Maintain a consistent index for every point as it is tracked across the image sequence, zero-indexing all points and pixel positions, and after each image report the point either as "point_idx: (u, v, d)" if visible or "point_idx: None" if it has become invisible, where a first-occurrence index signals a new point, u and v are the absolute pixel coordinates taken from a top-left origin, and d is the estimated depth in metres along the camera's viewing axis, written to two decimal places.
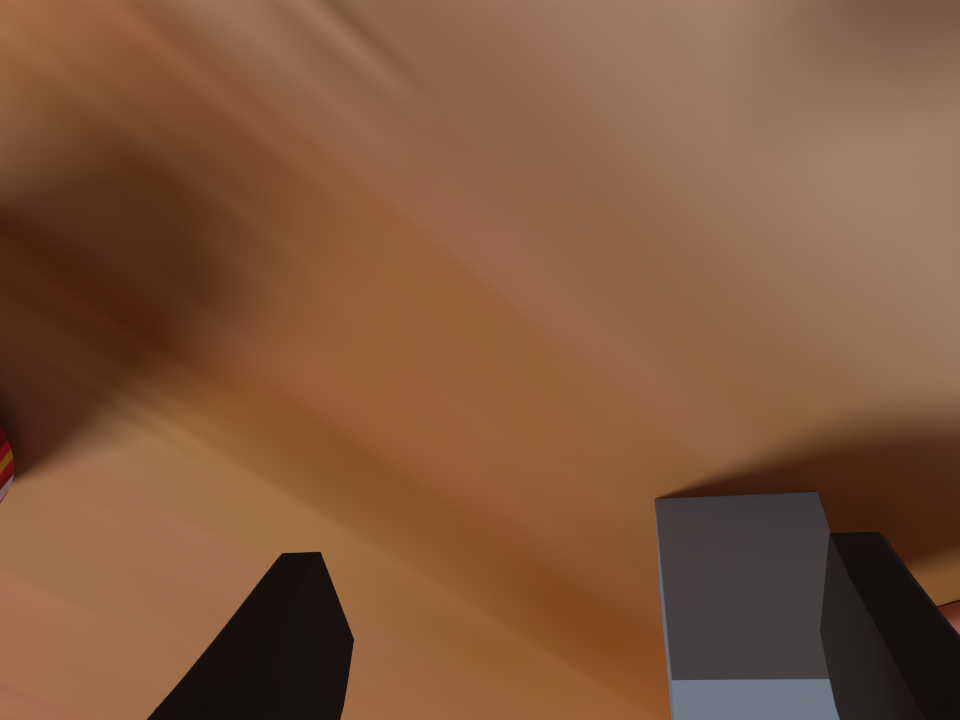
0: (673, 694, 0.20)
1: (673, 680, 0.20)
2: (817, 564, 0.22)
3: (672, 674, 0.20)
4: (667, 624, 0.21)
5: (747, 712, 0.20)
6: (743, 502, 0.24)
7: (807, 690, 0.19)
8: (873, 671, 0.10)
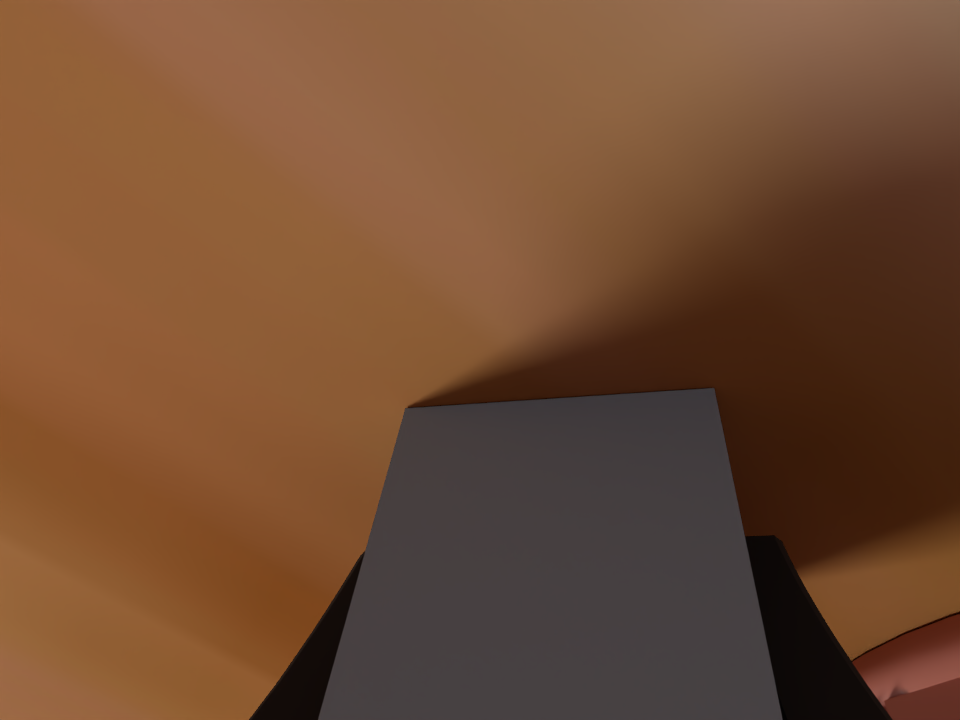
0: None
1: None
2: (692, 527, 0.10)
3: None
4: (337, 662, 0.09)
5: None
6: (567, 411, 0.12)
7: None
8: None
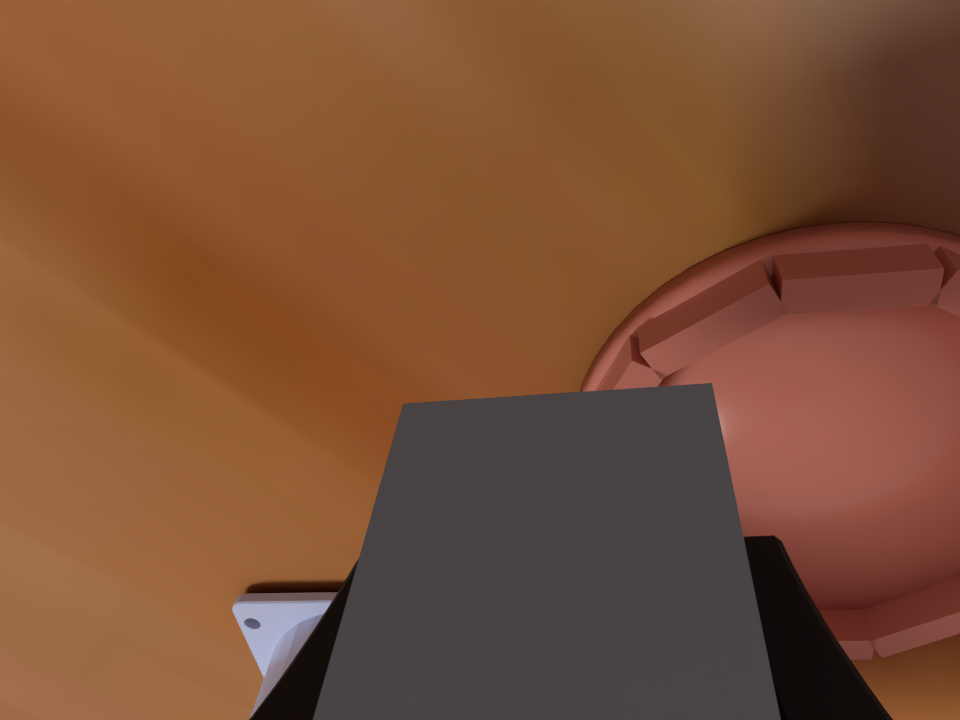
0: None
1: None
2: (690, 521, 0.10)
3: None
4: (334, 656, 0.09)
5: None
6: (565, 406, 0.12)
7: None
8: None
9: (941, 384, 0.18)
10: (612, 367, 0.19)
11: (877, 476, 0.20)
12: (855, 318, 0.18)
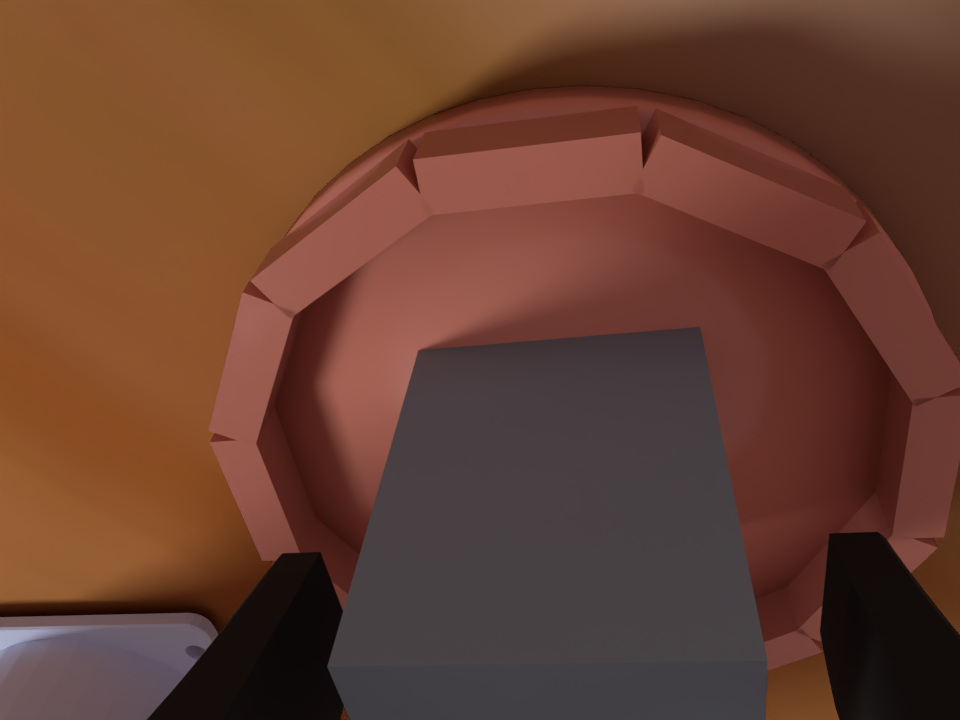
0: (343, 698, 0.09)
1: (331, 667, 0.09)
2: (678, 440, 0.11)
3: (333, 654, 0.09)
4: (362, 555, 0.10)
5: None
6: (566, 349, 0.13)
7: (618, 687, 0.09)
8: (873, 672, 0.10)
9: (701, 323, 0.13)
10: None
11: None
12: (562, 226, 0.12)
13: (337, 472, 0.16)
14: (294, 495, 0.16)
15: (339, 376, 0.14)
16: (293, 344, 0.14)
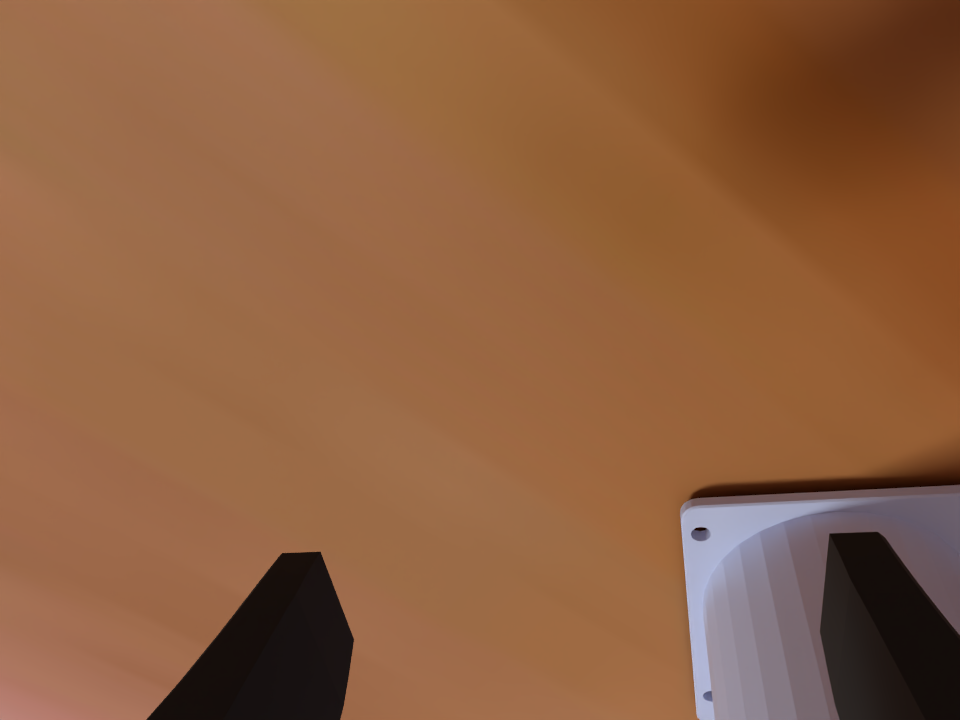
0: None
1: None
2: None
3: None
4: None
5: None
6: None
7: None
8: (873, 671, 0.10)
9: None
10: None
11: None
12: None
13: None
14: None
15: None
16: None
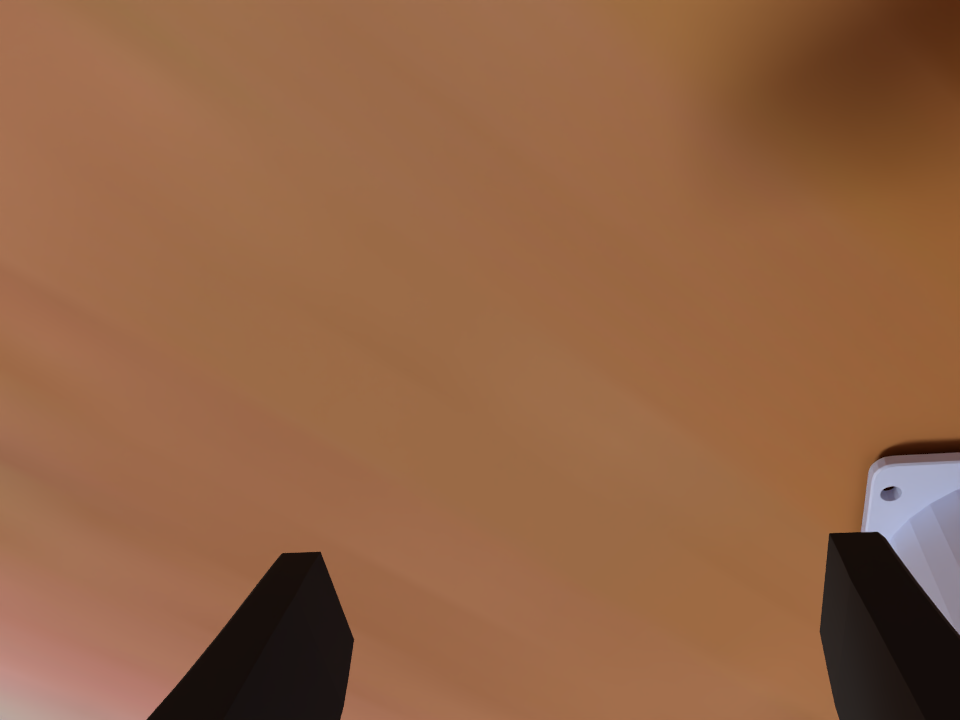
0: None
1: None
2: None
3: None
4: None
5: None
6: None
7: None
8: (873, 673, 0.10)
9: None
10: None
11: None
12: None
13: None
14: None
15: None
16: None
